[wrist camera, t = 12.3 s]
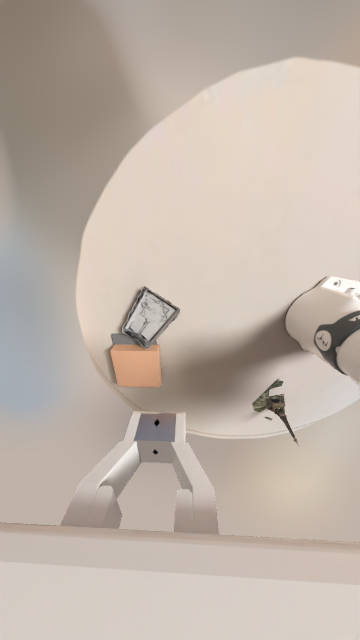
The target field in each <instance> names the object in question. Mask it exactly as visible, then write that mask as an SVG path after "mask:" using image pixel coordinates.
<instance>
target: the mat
mask: <svg viewBox="0 0 360 640" xmlns="http://www.w3.org/2000/svg"><path fill="white" fill-rule="evenodd" d="M112 339H113V344H114V345H115V344H126V345H141V344H140V343H139V342H138V340H136V339H134V338H131V337H129V336H128V335H126V334H112ZM152 345H156V340H155V341H154V342H153V343H152Z"/></svg>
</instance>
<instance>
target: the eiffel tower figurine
mask: <svg viewBox="0 0 360 640" xmlns="http://www.w3.org/2000/svg"><path fill="white" fill-rule="evenodd" d="M282 383H283V381H280V380H278V379H277V381H276V382H275V383H274V384H272V385H271V386H270V387H269V388H268V389H267V390H266V391H265V392H264V393H263V394H262V395H261V396H260V397H259V398H258V399H257V400H256V401H255V402H254V403H253V404H252V405H253V408H254V410H255V411H258V412H261V411H262V410H264V409H265V407H266V406H267V409H269V410H271V411H273V412H274V413H275V414H277V415H278V416H279V417H280V418H281V419H282V421H283V422H284V423H285V425H286V427H287V428H288V430H289V432H290V433H291V435H292V437H293V438H294V441H295V442H296V443H297V439H296V438H295V436H294V434H293V432H292V430H291V428H290V425H289V423H288V421H287V418H286V415H285V409H284V406H285V402H284V394H281V395H275V396H270V397H269V390H270V389H272V388H275V387H279V386H282ZM278 408H280V409H278ZM264 418H267V419H269V420H272V419H271V418H268V417H264Z"/></svg>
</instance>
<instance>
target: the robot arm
mask: <svg viewBox="0 0 360 640" xmlns="http://www.w3.org/2000/svg"><path fill="white" fill-rule="evenodd" d="M334 282H335V284H334ZM285 325H286V329H287V332H288V333H289V335H290V336H291V337H292V338H294V339H295V340H297V341H298V342H299V344H300V346H301V347H302V349H304V350H305V351H311V352H312V353H314V354H315V355H316V356H318V357H319V358H320V359H322V360H323V361H325V362H326V363H330V365H331V366H332V367H333V368H335V369H336V370H338V371H339V372H341V373H342V374H344V375H347V376H349V377H350V378H351V379H352V380H353V381H355V382H356V383H357V384H358V385H359V386H360V281H355V280H349V279H344V278H339V277H334V276H328V277H326V278H324V279H323V280H322V281H321V282H320V283H319V284H318V285H317V286H316V287H315V288H313V289H312V290H310V291H308V292H306V293H304V294H303V295H301V296H300V297H299V298H298V299H297V300H296V301H295V302H294V303H293V304H292V305H291V307H290V309H289V310H288V313H287V315H286V320H285ZM141 462H159V463H173V467H174V469H175V472H176V474H177V477H178V479H179V482H180V484H181V487H182V489H179V490H178V491H177V493H176V510H175V525H174V532H164V531H163V532H162V531H145V530H127V529H119V526H120V522H121V517H122V513H121V511H120V508H119V505H118V502H117V498H118V496H119V495H120V493H121V492H122V490H123V489H124V487H125V486H126V484H127V483H128V481H129V480H130V479H131V477H132V476H133V474H134V473H135V471H136V470H137V468H138V467H139V465H140V464H141ZM0 640H360V543H359V542H341V541H324V540H307V539H289V538H288V539H287V538H271V537H270V538H269V537H253V536H234V535H219V532H218V522H217V513H216V503H215V493H214V488H213V487H212V485H211V483H210V481H209V480H208V478H207V476H206V474H205V473H204V471H203V469H202V467H201V466H200V464H199V462H198V460H197V458H196V456H195V455H194V453H193V451H192V449H191V448H190V446H189V444H188V443H186V414H185V412H162V411H159V412H152V411H133V412H132V414H131V417H130V421H129V423H128V427H127V430H126V433H125V436H124V439H123V440H121V441H119V442H118V443H117V444H116V445H115V446H114V447H113V449H112V450H111V451H110V452H109V453H108V454H107V455H106V456H105V457H104V458H103V459H102V460H101V461H100V462H99V463H98V464H97V465H96V466H95V467H94V468H93V469H92V470H91V471H90V472H89V474H87V476H86V477H85V478H84V479H83V480H82V481H81V482H80V483H79V485H78V487H77V489H76V492H75V494H74V496H73V498H72V500H71V502H70V505H69V507H68V509H67V511H66V514H65V516H64V518H63V520H62V522H61V525H60V526H56V525H38V524H20V523H1V522H0Z"/></svg>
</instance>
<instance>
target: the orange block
mask: <svg viewBox="0 0 360 640" xmlns="http://www.w3.org/2000/svg"><path fill="white" fill-rule="evenodd" d="M110 352H111V357H112V361H113V366H114V370H115V375H116V379H117V384H118V386H119V387H161V382H162V374H161V362H160V350H159V345H151V346H150V347H149V349H146V348H145V347H143V346H141V345H126V344H115V345H114V346H113V348H112V349H111V350H110Z"/></svg>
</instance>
